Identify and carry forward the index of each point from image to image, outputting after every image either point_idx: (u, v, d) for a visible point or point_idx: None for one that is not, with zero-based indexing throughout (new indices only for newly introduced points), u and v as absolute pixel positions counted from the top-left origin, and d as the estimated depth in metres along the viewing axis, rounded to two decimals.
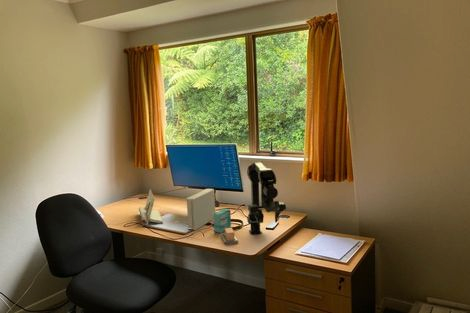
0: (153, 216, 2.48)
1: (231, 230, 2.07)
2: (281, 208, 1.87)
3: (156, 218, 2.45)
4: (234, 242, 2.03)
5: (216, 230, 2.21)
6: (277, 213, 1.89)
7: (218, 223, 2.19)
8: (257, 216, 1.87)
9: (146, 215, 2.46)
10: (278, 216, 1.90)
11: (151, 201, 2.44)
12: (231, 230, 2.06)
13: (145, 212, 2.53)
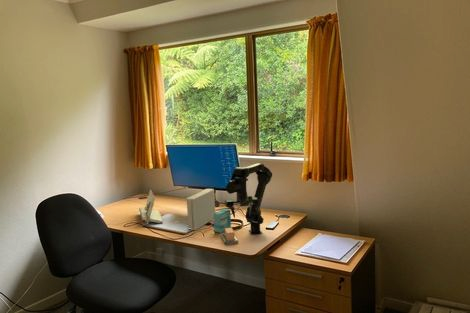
0: (153, 216, 2.48)
1: (231, 230, 2.07)
2: (254, 203, 2.05)
3: (156, 218, 2.45)
4: (234, 242, 2.03)
5: (216, 230, 2.21)
6: (251, 207, 2.06)
7: (218, 223, 2.19)
8: (233, 210, 2.04)
9: (146, 215, 2.46)
10: (252, 210, 2.07)
11: (151, 201, 2.45)
12: (231, 230, 2.06)
13: (145, 212, 2.53)
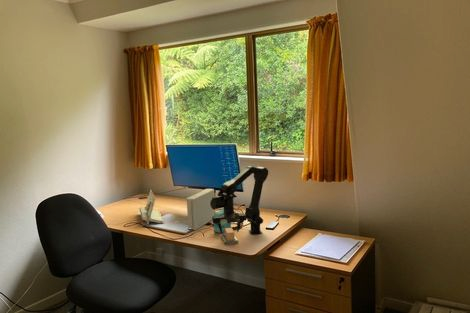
0: (154, 216, 2.48)
1: (231, 230, 2.07)
2: (241, 219, 2.05)
3: (157, 218, 2.45)
4: (234, 242, 2.03)
5: (216, 230, 2.21)
6: (238, 223, 2.06)
7: None
8: (220, 226, 2.05)
9: (147, 215, 2.46)
10: (239, 226, 2.07)
11: (152, 201, 2.45)
12: (231, 230, 2.06)
13: (146, 212, 2.53)
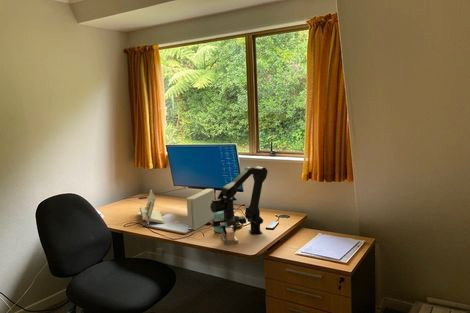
0: (154, 216, 2.48)
1: (231, 230, 2.07)
2: (241, 222, 2.05)
3: (157, 218, 2.46)
4: (234, 242, 2.03)
5: (216, 230, 2.21)
6: (234, 227, 2.06)
7: None
8: (224, 229, 2.05)
9: (147, 215, 2.46)
10: (235, 230, 2.07)
11: (152, 201, 2.45)
12: (231, 230, 2.06)
13: (146, 212, 2.53)
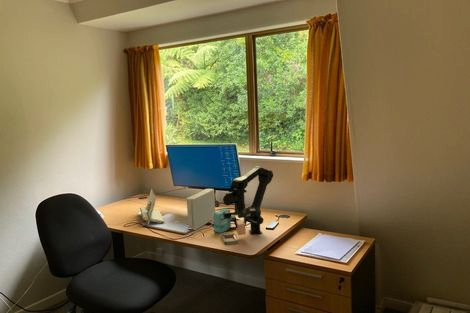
0: (154, 216, 2.49)
1: (242, 222, 2.08)
2: (252, 214, 2.06)
3: (157, 218, 2.46)
4: (234, 242, 2.03)
5: (216, 230, 2.21)
6: (245, 219, 2.07)
7: (218, 223, 2.19)
8: (235, 221, 2.06)
9: (147, 215, 2.46)
10: (246, 222, 2.07)
11: (152, 201, 2.45)
12: (242, 222, 2.07)
13: (146, 212, 2.53)
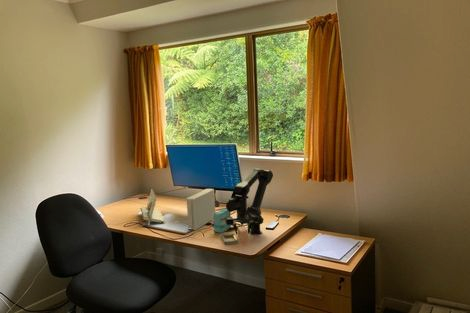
0: (155, 216, 2.49)
1: (244, 229, 2.08)
2: (255, 220, 2.06)
3: (158, 218, 2.46)
4: (234, 242, 2.03)
5: (216, 230, 2.21)
6: (249, 225, 2.08)
7: (218, 223, 2.19)
8: (235, 227, 2.06)
9: (148, 215, 2.46)
10: (250, 228, 2.08)
11: (153, 201, 2.45)
12: (244, 229, 2.08)
13: (147, 212, 2.53)
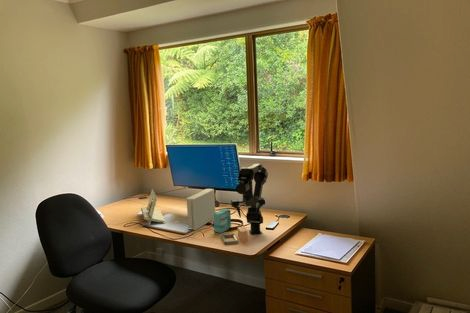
0: (155, 216, 2.49)
1: (244, 229, 2.08)
2: (260, 203, 2.04)
3: (158, 218, 2.46)
4: (234, 242, 2.03)
5: (216, 230, 2.21)
6: (257, 208, 2.05)
7: (218, 223, 2.19)
8: (238, 210, 2.04)
9: (148, 215, 2.46)
10: (258, 210, 2.06)
11: (153, 201, 2.45)
12: (244, 229, 2.08)
13: (147, 212, 2.53)
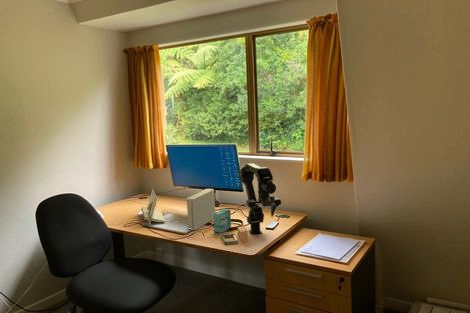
0: (155, 216, 2.49)
1: (244, 229, 2.08)
2: (277, 203, 2.02)
3: (158, 218, 2.46)
4: (234, 242, 2.03)
5: (216, 230, 2.21)
6: (273, 208, 2.04)
7: (218, 223, 2.19)
8: (254, 210, 2.02)
9: (148, 215, 2.46)
10: None
11: (154, 201, 2.45)
12: (244, 229, 2.08)
13: (147, 212, 2.53)
